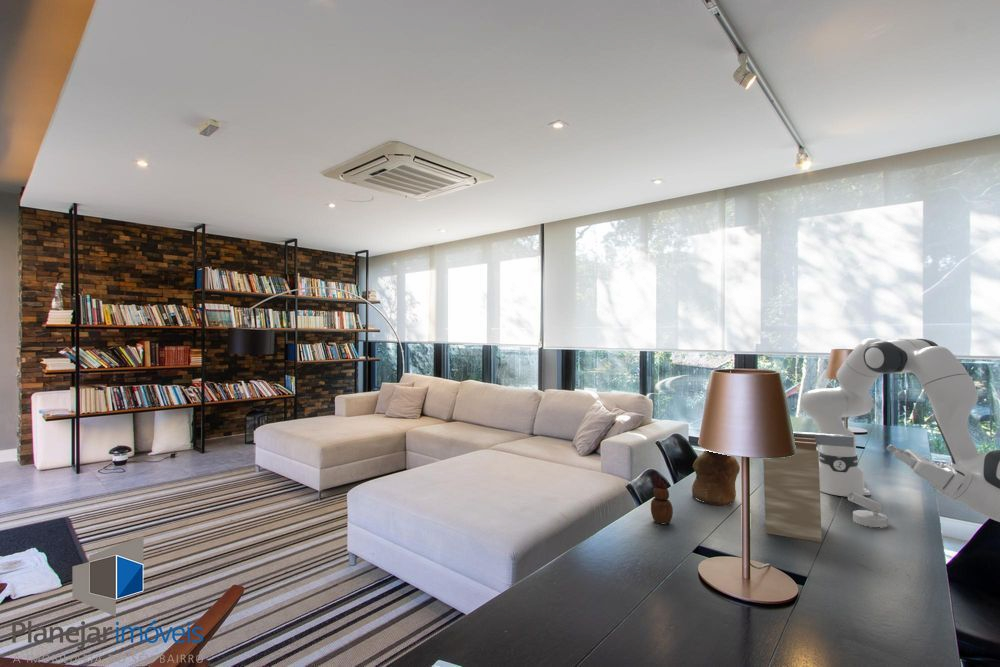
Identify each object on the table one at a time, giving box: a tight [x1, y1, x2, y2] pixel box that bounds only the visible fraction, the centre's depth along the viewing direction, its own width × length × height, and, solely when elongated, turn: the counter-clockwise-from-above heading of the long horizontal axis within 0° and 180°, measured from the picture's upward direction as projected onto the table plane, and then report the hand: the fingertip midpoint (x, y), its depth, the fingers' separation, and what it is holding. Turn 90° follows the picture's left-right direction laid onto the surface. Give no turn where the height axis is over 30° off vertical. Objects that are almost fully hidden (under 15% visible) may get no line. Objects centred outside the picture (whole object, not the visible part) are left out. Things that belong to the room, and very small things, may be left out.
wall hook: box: [847, 492, 889, 529], centre depth 149 cm, size 9×10×10 cm
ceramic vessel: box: [691, 450, 741, 506], centre depth 171 cm, size 16×22×30 cm
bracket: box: [792, 430, 854, 447], centre depth 146 cm, size 3×20×8 cm, turn 58°
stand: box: [762, 437, 823, 543], centre depth 146 cm, size 14×14×28 cm
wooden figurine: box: [650, 474, 674, 524], centre depth 153 cm, size 7×6×15 cm
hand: (891, 449), depth 138 cm, fingers open, 8 cm apart
